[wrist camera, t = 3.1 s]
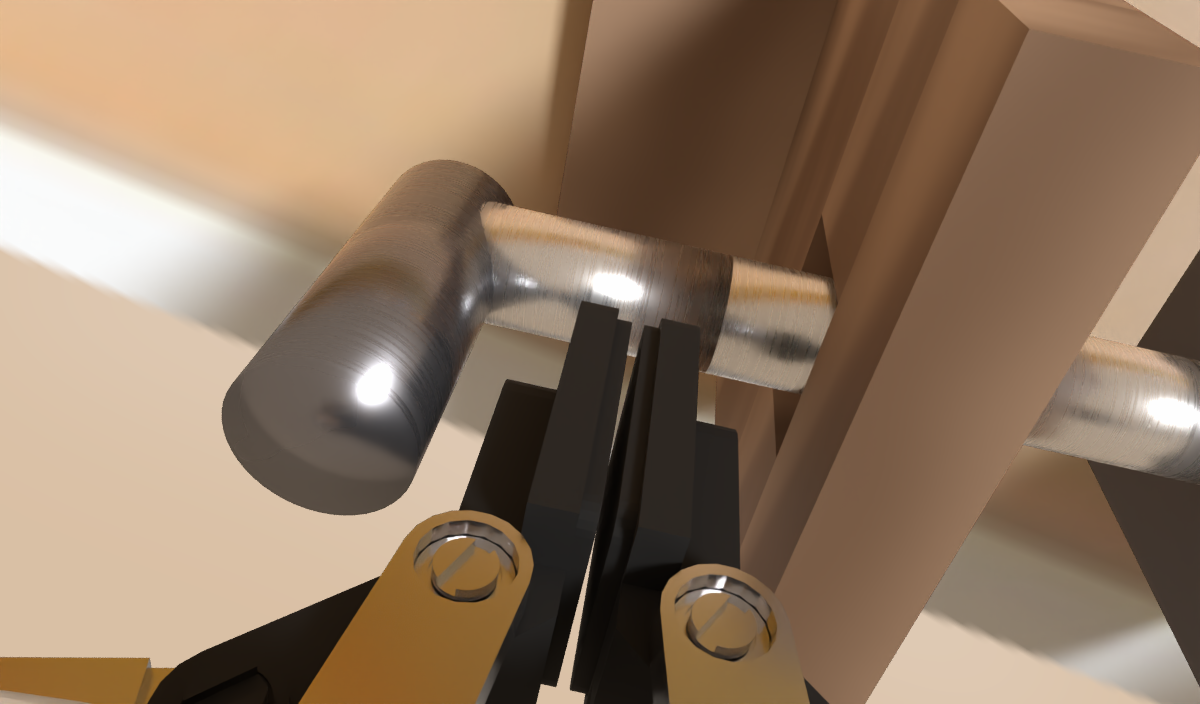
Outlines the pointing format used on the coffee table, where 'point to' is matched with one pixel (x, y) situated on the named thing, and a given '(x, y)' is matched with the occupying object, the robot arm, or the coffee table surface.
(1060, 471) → the coffee table surface
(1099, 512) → the coffee table surface
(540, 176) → the coffee table surface
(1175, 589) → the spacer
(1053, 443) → the shaft
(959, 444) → the bracket
